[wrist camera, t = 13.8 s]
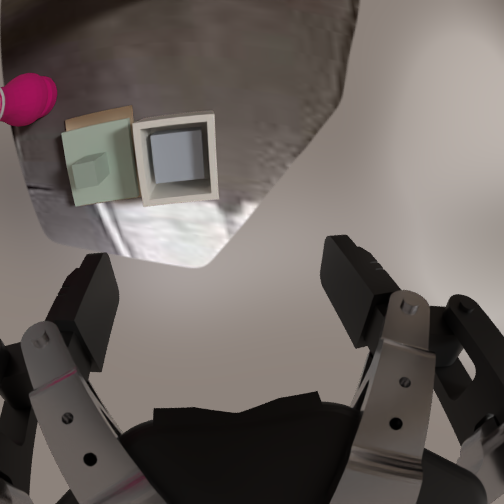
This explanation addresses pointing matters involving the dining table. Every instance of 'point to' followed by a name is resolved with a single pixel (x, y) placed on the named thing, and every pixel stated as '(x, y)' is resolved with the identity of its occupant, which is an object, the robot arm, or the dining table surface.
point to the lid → (101, 162)
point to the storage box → (176, 158)
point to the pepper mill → (27, 99)
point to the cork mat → (102, 118)
